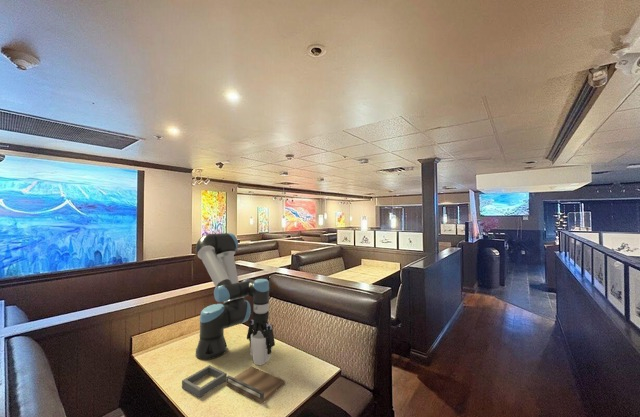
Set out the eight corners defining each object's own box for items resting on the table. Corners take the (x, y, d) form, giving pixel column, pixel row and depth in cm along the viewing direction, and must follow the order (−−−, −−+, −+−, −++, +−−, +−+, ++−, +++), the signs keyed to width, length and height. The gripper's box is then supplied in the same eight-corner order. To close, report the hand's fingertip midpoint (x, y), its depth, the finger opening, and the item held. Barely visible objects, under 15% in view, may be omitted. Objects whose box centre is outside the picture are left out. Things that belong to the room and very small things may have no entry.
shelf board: (226, 386, 109) (226, 376, 109) (251, 369, 121) (251, 360, 121) (261, 404, 99) (261, 393, 99) (284, 383, 111) (284, 374, 111)
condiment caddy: (181, 387, 108) (182, 380, 108) (209, 371, 119) (209, 365, 119) (199, 398, 102) (199, 390, 102) (226, 380, 113) (226, 373, 113)
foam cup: (259, 369, 121) (260, 341, 121) (246, 362, 126) (246, 336, 126) (273, 359, 129) (274, 333, 130) (260, 354, 134) (260, 328, 134)
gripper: (239, 309, 131) (238, 354, 130) (272, 318, 119) (271, 367, 119) (250, 304, 137) (249, 347, 136) (283, 313, 126) (282, 360, 125)
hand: (260, 357), depth 128 cm, fingers closed on foam cup, 9 cm apart
